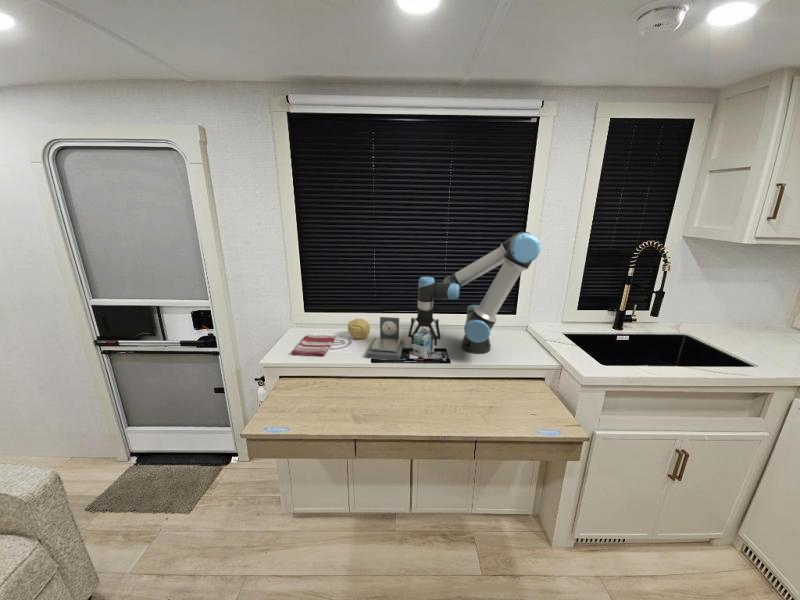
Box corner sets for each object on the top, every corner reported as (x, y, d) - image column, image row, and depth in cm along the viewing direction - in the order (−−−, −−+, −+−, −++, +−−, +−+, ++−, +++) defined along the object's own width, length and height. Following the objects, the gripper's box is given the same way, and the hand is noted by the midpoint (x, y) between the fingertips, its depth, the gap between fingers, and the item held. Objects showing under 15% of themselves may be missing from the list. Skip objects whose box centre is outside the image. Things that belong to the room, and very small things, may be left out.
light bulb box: (424, 357, 160) (425, 337, 157) (412, 354, 164) (413, 334, 161) (434, 350, 169) (435, 330, 166) (422, 347, 172) (423, 328, 169)
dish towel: (290, 356, 161) (290, 351, 160) (306, 337, 183) (306, 333, 182) (324, 357, 160) (324, 353, 159) (336, 339, 182) (336, 334, 181)
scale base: (404, 343, 176) (404, 318, 172) (399, 360, 157) (399, 332, 153) (375, 341, 178) (375, 316, 174) (366, 357, 159) (366, 330, 155)
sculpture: (345, 339, 180) (344, 321, 177) (355, 331, 191) (354, 314, 188) (364, 342, 177) (364, 323, 174) (373, 334, 188) (373, 316, 185)
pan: (400, 342, 171) (400, 339, 171) (397, 352, 159) (397, 349, 158) (376, 340, 173) (376, 337, 172) (371, 351, 160) (371, 348, 160)
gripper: (447, 307, 162) (445, 348, 168) (404, 304, 164) (403, 345, 171) (447, 312, 155) (445, 355, 161) (402, 309, 157) (401, 352, 164)
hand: (423, 350), depth 166 cm, fingers open, 9 cm apart
